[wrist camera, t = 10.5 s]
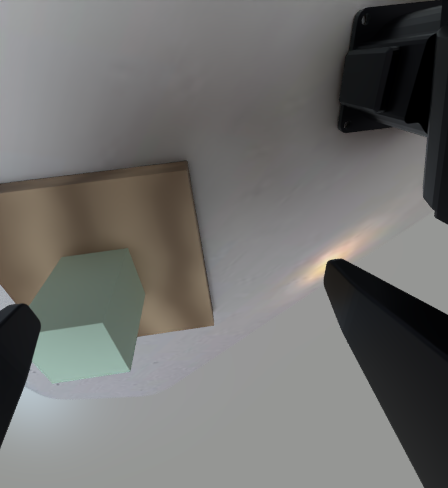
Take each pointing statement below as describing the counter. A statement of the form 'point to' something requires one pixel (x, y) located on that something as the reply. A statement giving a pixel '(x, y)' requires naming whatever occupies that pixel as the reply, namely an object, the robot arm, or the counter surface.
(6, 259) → the walnut base
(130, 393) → the counter surface
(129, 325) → the sage block
